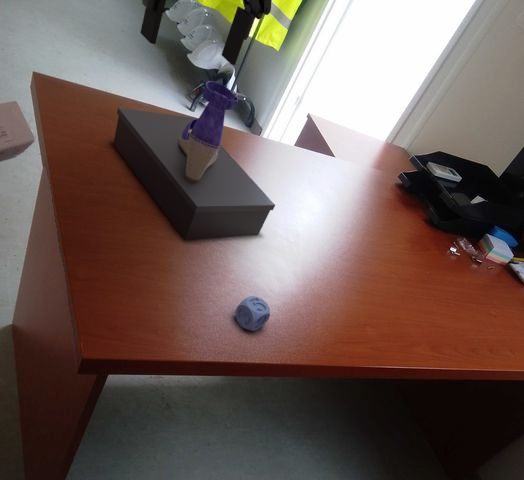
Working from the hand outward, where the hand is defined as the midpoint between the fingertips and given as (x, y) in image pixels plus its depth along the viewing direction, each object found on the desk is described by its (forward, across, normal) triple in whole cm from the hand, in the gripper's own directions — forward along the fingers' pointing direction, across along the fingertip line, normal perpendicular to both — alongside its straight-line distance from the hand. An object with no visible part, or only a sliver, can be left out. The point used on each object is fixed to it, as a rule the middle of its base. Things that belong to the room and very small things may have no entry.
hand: (190, 50), depth 64 cm
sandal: (+20, +12, +7) cm, 25 cm away
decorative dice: (+28, +5, -28) cm, 40 cm away
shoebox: (+28, +14, +8) cm, 32 cm away
